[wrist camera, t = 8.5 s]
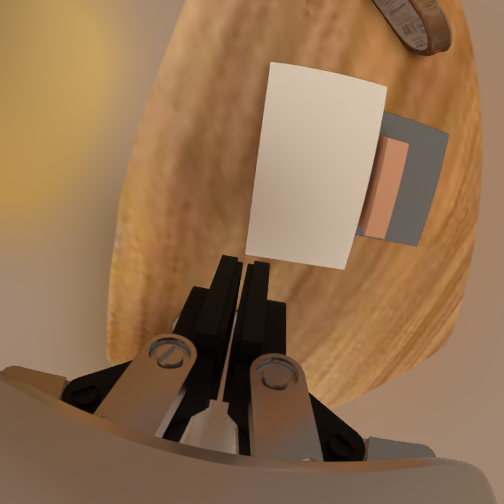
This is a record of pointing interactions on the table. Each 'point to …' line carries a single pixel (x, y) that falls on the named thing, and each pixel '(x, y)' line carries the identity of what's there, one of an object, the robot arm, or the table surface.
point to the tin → (418, 24)
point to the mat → (413, 177)
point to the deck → (313, 164)
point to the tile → (383, 186)
